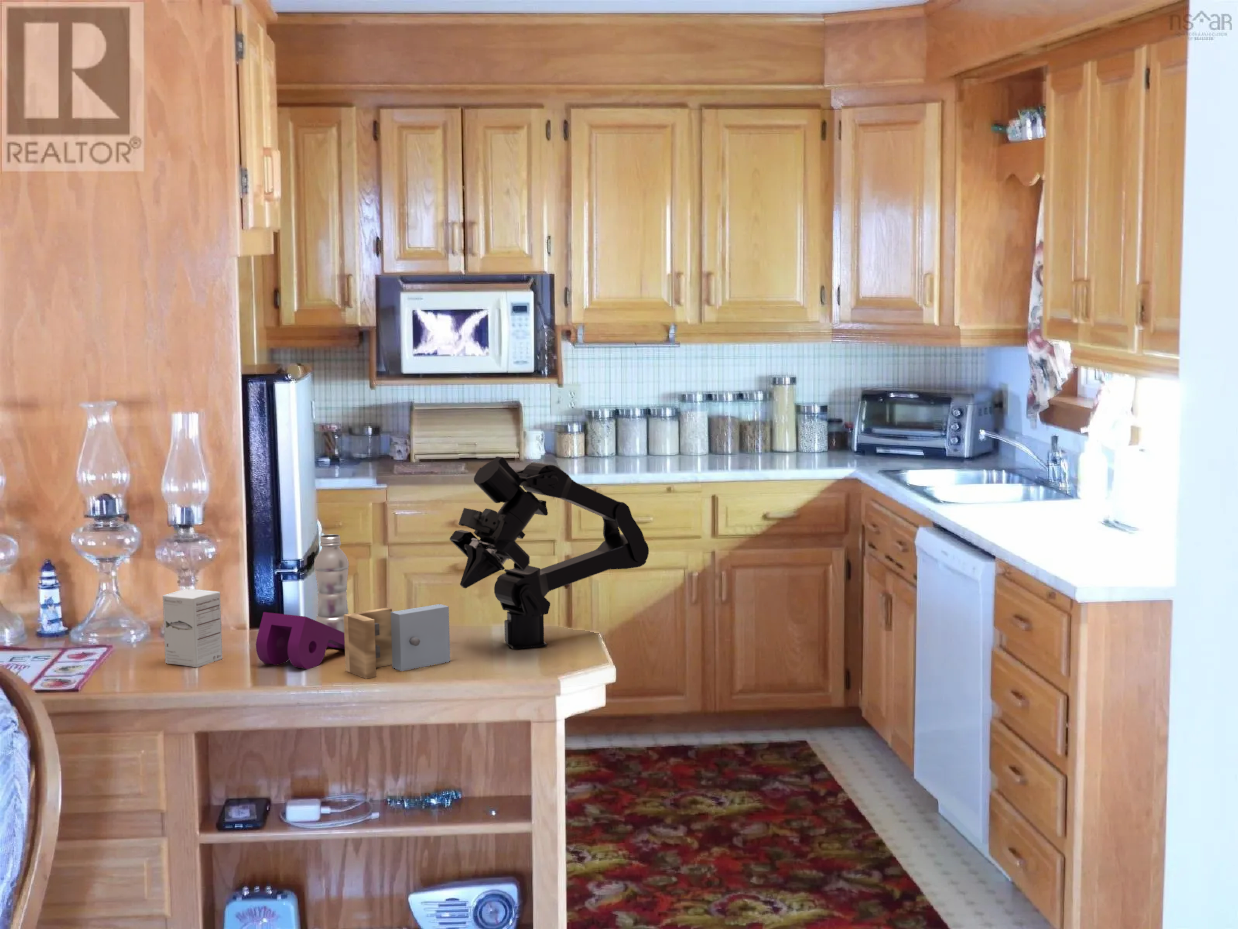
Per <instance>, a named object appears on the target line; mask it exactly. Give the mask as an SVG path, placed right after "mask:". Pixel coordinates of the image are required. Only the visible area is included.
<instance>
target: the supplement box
mask: <svg viewBox="0 0 1238 929" xmlns="http://www.w3.org/2000/svg"><path fill="white" fill-rule="evenodd" d="M221 609H222V608H221V591H215V590H208V589H207V590H205V589H197V588H186V589H185V588H184V589H181V590H177V591H174V592H170V593H167V594H163V595H162V610H163V631H164V632H163V636H164V657H165V658H164V661H165V664H166V663H167V664H168V665H169V664H172V665H179V666H186V667H193V668H199V667H202V666H206V665H208V664H212V663H214V661H215V662H217V661H221V660H223V639H222V638H223V637H222V636H223V635H222V611H221ZM167 664H166V665H167Z"/></svg>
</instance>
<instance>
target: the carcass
mask: <svg viewBox="0 0 1238 929" xmlns="http://www.w3.org/2000/svg"><path fill="white" fill-rule="evenodd" d="M391 612H393V608H390V607H383V608H376V609H369V610H363V611H358V612H352V613H351V612H349V613H348V614H344V637H345V649H344V657H345V658H344V659H345V660H344V661H345V662H344V663H345V664H344V665H345V666H344V667H345V672H348V673H350V674H353V675H355V676H357V677H360V678H363V679H365V680H367V679H373V678H376V677H377V668H381V667H386V666H392V635H391Z"/></svg>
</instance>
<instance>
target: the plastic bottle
mask: <svg viewBox="0 0 1238 929" xmlns="http://www.w3.org/2000/svg"><path fill="white" fill-rule="evenodd" d="M319 541H320V543H319V544H320V547H321V550H320V551H319V553H318V554H317V556H316V558H315V560H314V563H313V565H314V566H313V567H314V568H313V569H314V572H315V580H316V584H317V585H316V586H317V588H316V589H317V612H316V614H317V616H316V619H315V621H318V622H320V623H322V624H325V625H327V626H329V627H332V628H334V629H337V630H339V631H341V632H344V614H349V607H348V597H347V596H348V593H347V590H348V576H349V567H350V562H349V560H348V556H347V554H346V553H345V552H344V551H343V549H342V548H340V547H341V546H342V542H341V535H340V534H322V535H320V540H319Z"/></svg>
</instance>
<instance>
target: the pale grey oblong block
mask: <svg viewBox="0 0 1238 929" xmlns="http://www.w3.org/2000/svg"><path fill="white" fill-rule="evenodd" d="M449 608H450V606H448V605H445V604H441V603H439V604H438V603H437V604H431V605H425V606H420V607H414V608H407V609H402V610H394V611H392V612H391V635H392V665H391V666H392V669H394V668H395V669H394V670H397V671H399V672H403V671H404V672H405V671H409V670H414V668H415V669H419V667H420V668H424V667H425V668H426V667H431V666H435V665H434V664H436V665H440V664H445V662H446V663H450V662H451V647H450V646H451V644H450V641H451V640H450V638H451V637H450V609H449ZM449 661H450V662H449ZM430 665H431V666H430Z"/></svg>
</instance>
